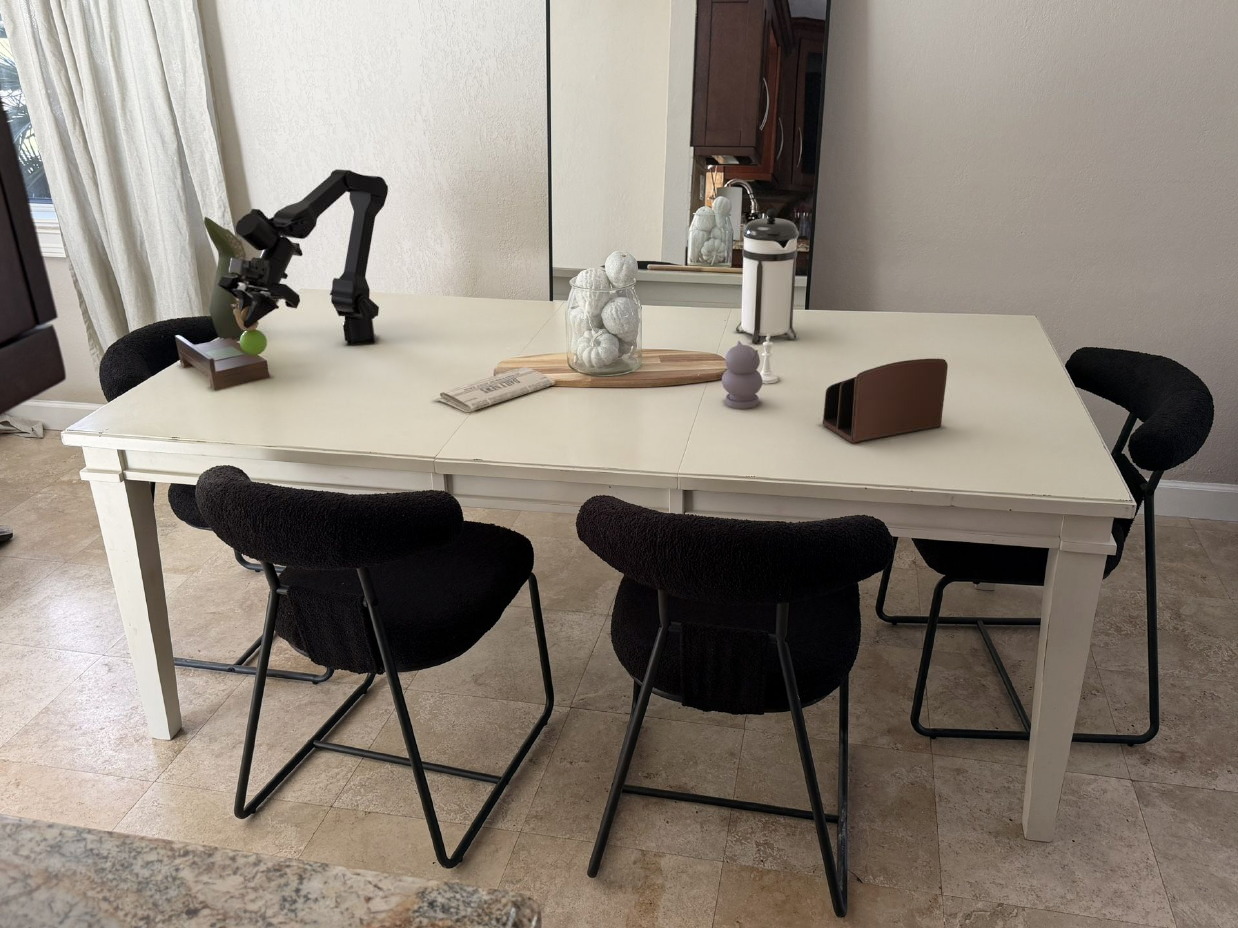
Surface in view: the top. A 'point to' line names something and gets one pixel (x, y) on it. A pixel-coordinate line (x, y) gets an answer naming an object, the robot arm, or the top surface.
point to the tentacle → (220, 299)
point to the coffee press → (768, 277)
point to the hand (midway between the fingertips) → (242, 326)
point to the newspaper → (496, 389)
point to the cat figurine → (742, 377)
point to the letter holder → (887, 400)
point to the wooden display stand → (222, 362)
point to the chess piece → (767, 364)
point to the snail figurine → (250, 334)
